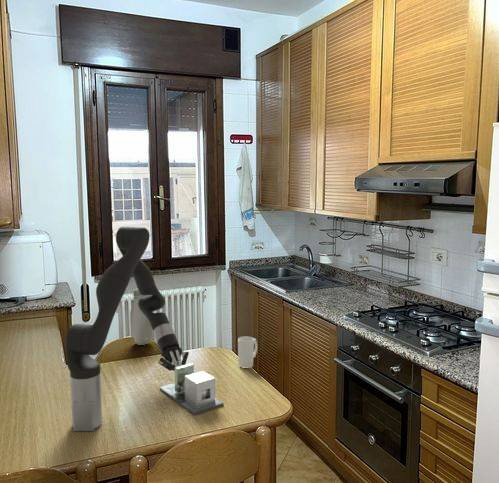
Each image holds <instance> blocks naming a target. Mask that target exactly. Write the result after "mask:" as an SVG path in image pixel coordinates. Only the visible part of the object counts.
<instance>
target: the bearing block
mask: <svg viewBox="0 0 499 483" xmlns="http://www.w3.org/2000/svg"><path fill="white" fill-rule="evenodd" d="M206 389H207V390H208V395H207V397H205V398H203V397H202V391H203V390H206ZM159 390H160V391H161V392H163V393H164V394H165V395H166V396H167V397H168V398H171V399H172V400H173V401H174V402H176V403H177V404H178V405H180V406H181V407H183V408H184V409H186V411H188V412H189V413H190V414H192V415H193V416H196V415H199V414H203V413H205V412H208V411H211V410H214V409H216V408H220V407H222V406H224V405H225V404H224V401H222V400H220V399H219V398H217V397H216V377H214V376H213V375H212V374H209V373H207V372H205V371H204V370H201V371H197V372H194V373H193V374H190V375H186V376H185V391H181V392H178V393H177V392H176V391H175V382H173V383H170V384H166V385H162V386H159Z"/></svg>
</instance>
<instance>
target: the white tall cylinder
mask: <svg viewBox="0 0 499 483" xmlns="http://www.w3.org/2000/svg"><path fill="white" fill-rule="evenodd" d="M145 296H147V295H141V294H140V293H139V291H138V288H135V289H134V290H133V299H132V304H131V309H130V313H129V315H130V318H129V319H130V320H129V321H130V322H129V323H130V337H133V338H135V339H134V341H135V343H137V344H138V345H144V344H147V343H148V342H150V343H151V341H152V340H153V329H152V327H151V324H150V322H149V320H148V319H147V317H146V316H145V315H144V314H143V313H142V311H141V310H140V308H139V306H138V301H139V299H140V298H142V297H145ZM146 338H147V339H146ZM149 339H150V340H151V341H150V340H149ZM148 344H149V343H148ZM148 344H147V345H148ZM144 346H145V345H144Z"/></svg>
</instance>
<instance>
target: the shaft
mask: <svg viewBox="0 0 499 483" xmlns="http://www.w3.org/2000/svg"><path fill="white" fill-rule="evenodd" d="M194 366H195V364H193V363H192V362H190V363H186V364H185V365H182V366H178V367H175V371H174V383H175V391H176V392H177V393H178V392H181V391H185V376H186V375H190V374H193V373H195V367H194ZM207 395H208V390H207V389H206V390H203V391H202V397H203V398H205V397H207Z"/></svg>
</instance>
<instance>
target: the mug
mask: <svg viewBox="0 0 499 483" xmlns="http://www.w3.org/2000/svg"><path fill="white" fill-rule="evenodd" d="M237 351H238V352H237V354H238V355H237V356H238V357H237V358H238V367H239V366H240V367H248V368H249V369H252V368H253V367H254V358H256V356H257V353H258V352H257V351H258V341H257V339H256V338H254V337H251V336H240V337H238V339H237ZM240 367H239V368H240Z"/></svg>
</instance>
